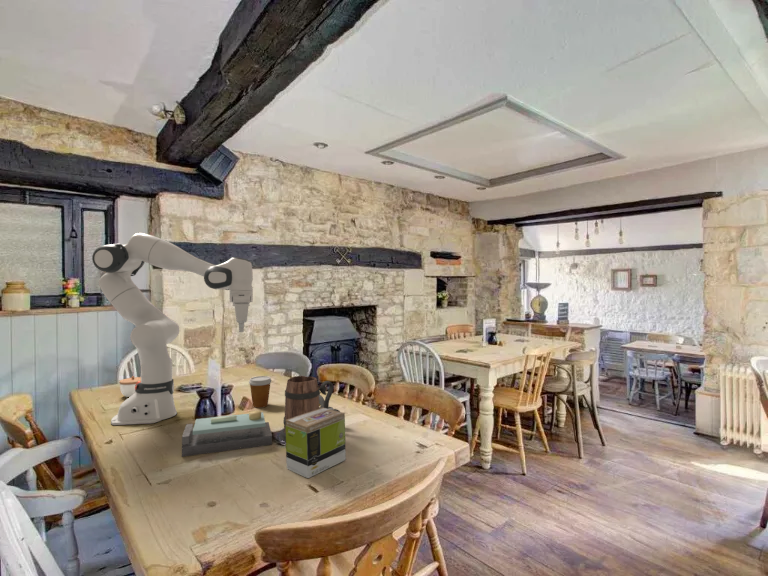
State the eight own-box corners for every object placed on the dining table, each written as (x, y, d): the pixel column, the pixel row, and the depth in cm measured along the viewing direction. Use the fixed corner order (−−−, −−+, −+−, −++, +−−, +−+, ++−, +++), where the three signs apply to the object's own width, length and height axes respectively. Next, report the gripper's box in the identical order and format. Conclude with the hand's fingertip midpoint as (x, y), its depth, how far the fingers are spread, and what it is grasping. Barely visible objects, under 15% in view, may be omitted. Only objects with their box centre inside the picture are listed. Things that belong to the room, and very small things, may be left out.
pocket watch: (334, 409, 172) (334, 385, 172) (330, 415, 163) (330, 390, 163) (316, 408, 173) (316, 385, 172) (310, 414, 164) (310, 390, 164)
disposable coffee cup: (267, 409, 171) (267, 381, 171) (245, 408, 172) (245, 380, 172) (274, 402, 181) (274, 375, 181) (253, 402, 181) (253, 375, 181)
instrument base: (181, 456, 124) (181, 438, 124) (186, 440, 137) (186, 423, 137) (271, 444, 134) (271, 427, 134) (268, 430, 147) (268, 414, 147)
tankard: (289, 448, 130) (289, 387, 130) (270, 433, 144) (270, 377, 144) (351, 433, 144) (351, 377, 144) (328, 420, 158) (328, 369, 158)
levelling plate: (192, 435, 126) (192, 424, 126) (196, 422, 137) (196, 413, 137) (265, 426, 134) (265, 416, 134) (263, 415, 145) (263, 406, 145)
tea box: (323, 452, 128) (323, 406, 128) (346, 461, 121) (346, 412, 121) (284, 469, 116) (284, 418, 116) (307, 480, 110) (307, 426, 110)
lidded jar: (121, 394, 194) (121, 375, 194) (147, 391, 198) (147, 373, 198) (117, 400, 184) (117, 379, 184) (144, 397, 189) (144, 377, 189)
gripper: (232, 297, 170) (233, 329, 170) (232, 298, 151) (232, 335, 151) (248, 296, 173) (248, 328, 173) (250, 298, 153) (250, 334, 154)
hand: (241, 332), depth 162 cm, fingers closed
